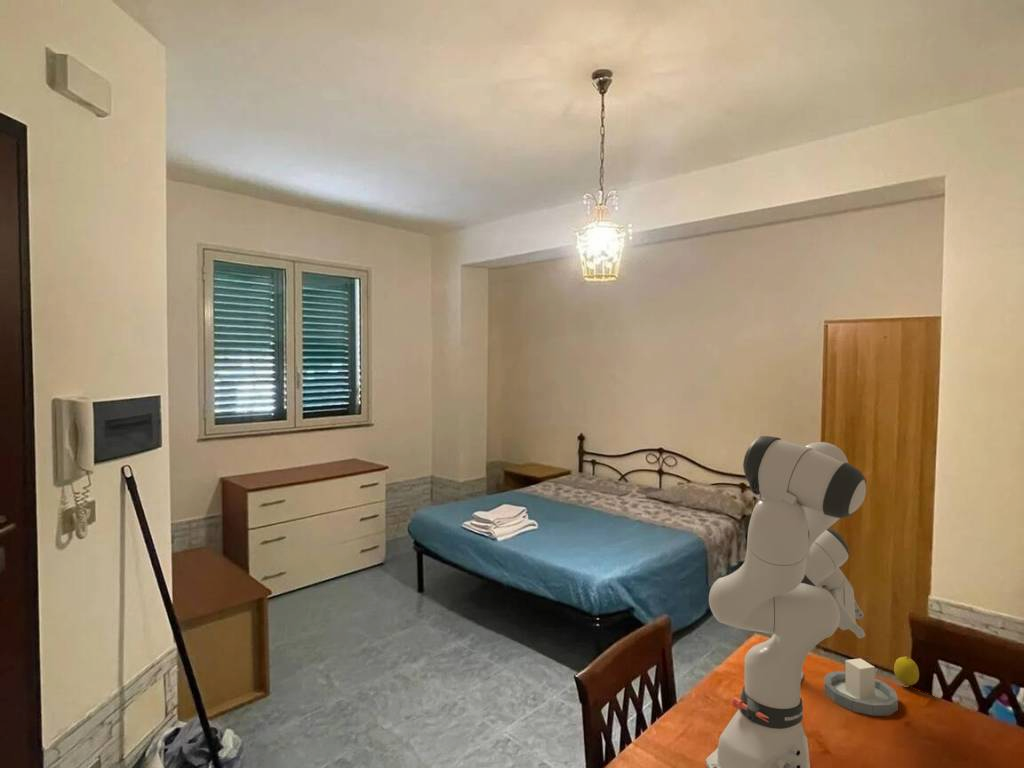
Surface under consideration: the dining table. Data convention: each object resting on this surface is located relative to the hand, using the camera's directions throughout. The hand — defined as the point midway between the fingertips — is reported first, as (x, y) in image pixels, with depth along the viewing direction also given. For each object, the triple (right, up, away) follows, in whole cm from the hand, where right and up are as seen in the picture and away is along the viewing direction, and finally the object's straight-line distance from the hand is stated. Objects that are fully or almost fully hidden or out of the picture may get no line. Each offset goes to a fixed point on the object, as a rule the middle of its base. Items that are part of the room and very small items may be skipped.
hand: (861, 626), depth 141 cm
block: (+3, -20, +6) cm, 21 cm away
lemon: (+19, -21, +11) cm, 30 cm away
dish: (+3, -21, +6) cm, 22 cm away
